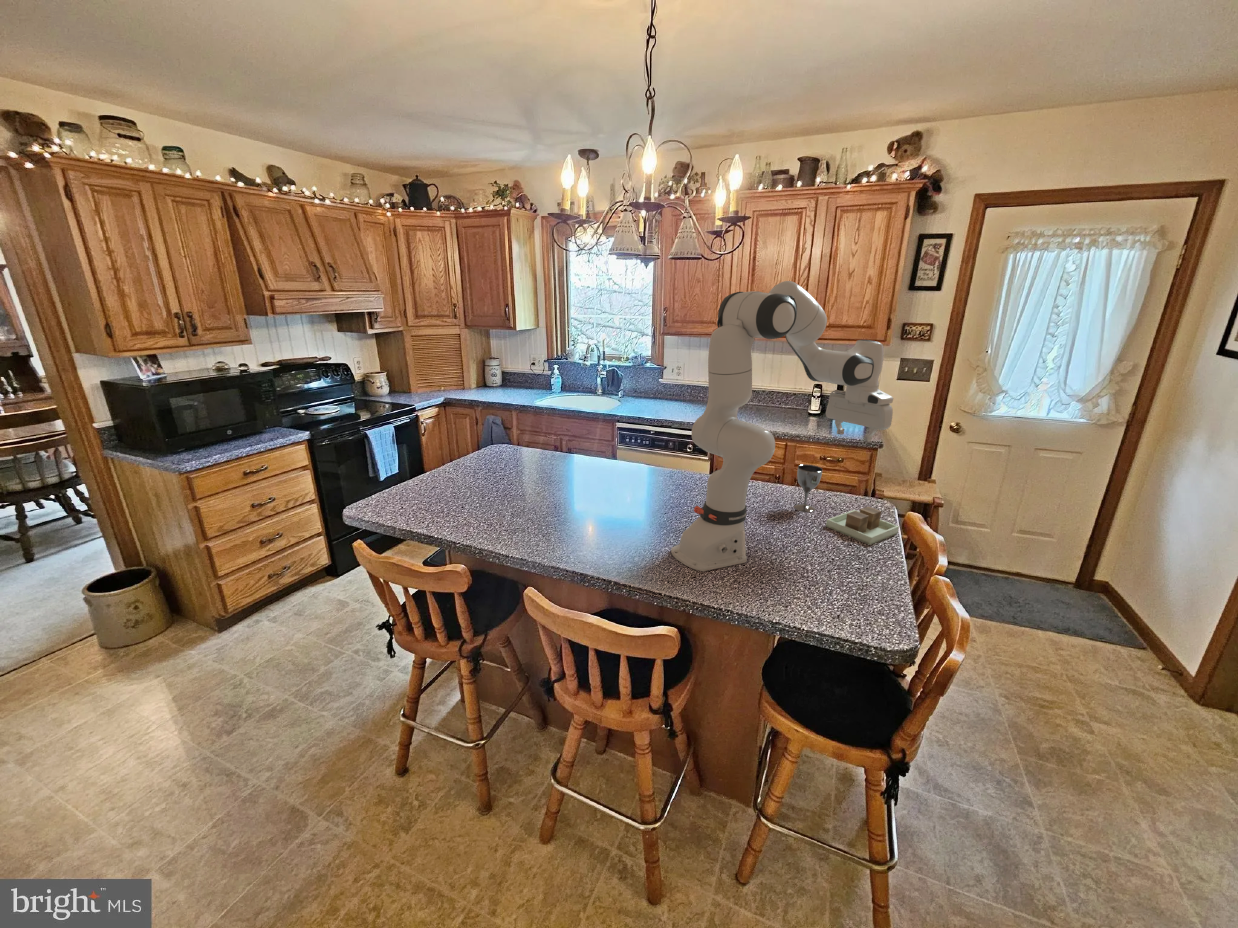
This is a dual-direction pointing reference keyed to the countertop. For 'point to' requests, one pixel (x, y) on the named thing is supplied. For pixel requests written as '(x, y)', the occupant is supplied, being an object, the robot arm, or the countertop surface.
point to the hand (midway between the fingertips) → (853, 437)
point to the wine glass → (808, 483)
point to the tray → (867, 537)
